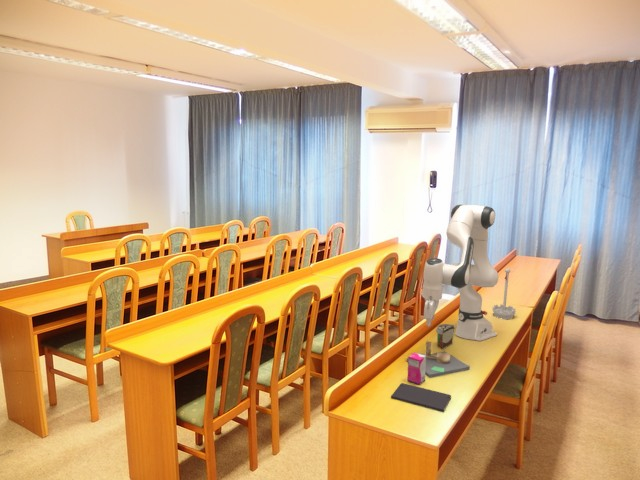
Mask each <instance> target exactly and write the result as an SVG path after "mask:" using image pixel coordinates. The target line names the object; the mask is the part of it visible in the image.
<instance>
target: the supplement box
mask: <svg viewBox="0 0 640 480" xmlns="http://www.w3.org/2000/svg"><path fill="white" fill-rule="evenodd" d="M418 353H419V352H418ZM418 353H417V352H413V353H411V354H410V355H408V356H407V358H408V362H407V382H410V383H412V384H415V385H418V386H420V385H421V384H423V382H425V381H426V375H425V366H426V356H425V355H422V354H423V353H422V354H418Z"/></svg>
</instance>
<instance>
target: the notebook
mask: <svg viewBox="0 0 640 480" xmlns="http://www.w3.org/2000/svg"><path fill="white" fill-rule="evenodd" d="M390 399H393V400H395V401H396V400H397V401H400V402H405V403H408V404H411V405H415V406H419V407H423V408H427V409H429V410H433V411H438V412H442V413H444V412H445V409H446V408H447V406H448V404H449V402H450V401H451V399H452V395H451V394H448V393H445V392H440V391H436V390H433V389H432V390H431V389H428V388H424V387H420V386H416V385H412V384H408V383H405V382H404V383H403V382H401V383H400V384H399V385H398V386H397V388H396V389H395V390H394V392H393V393H392V395H391V396H390Z"/></svg>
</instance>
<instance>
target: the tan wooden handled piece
mask: <svg viewBox="0 0 640 480" xmlns="http://www.w3.org/2000/svg"><path fill="white" fill-rule="evenodd" d="M439 352H440V353H438V352H436V353H437V355H432V354H433V353H432V341H426V342H425V353H420V352H418V354H422V355H425V356H427V357H430V358H435V359H437V360H436V361H437V362H438V363H441V364H448V363H450V355H451V354H450V353H449V352H447V353H443V352H444V351H439ZM448 353H449V354H450V355H449V354H448Z"/></svg>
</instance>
